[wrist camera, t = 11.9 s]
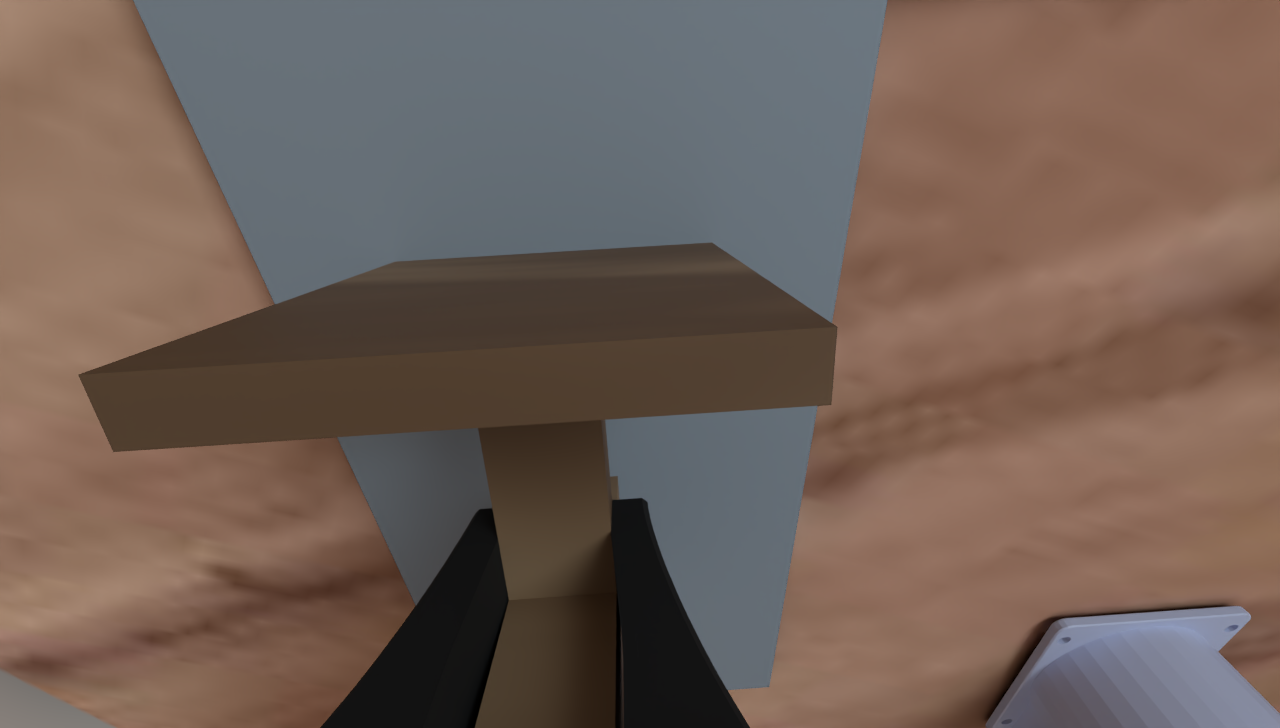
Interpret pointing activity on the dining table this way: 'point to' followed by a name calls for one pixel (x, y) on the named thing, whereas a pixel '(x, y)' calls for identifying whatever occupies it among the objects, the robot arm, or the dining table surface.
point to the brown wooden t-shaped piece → (499, 410)
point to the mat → (552, 215)
